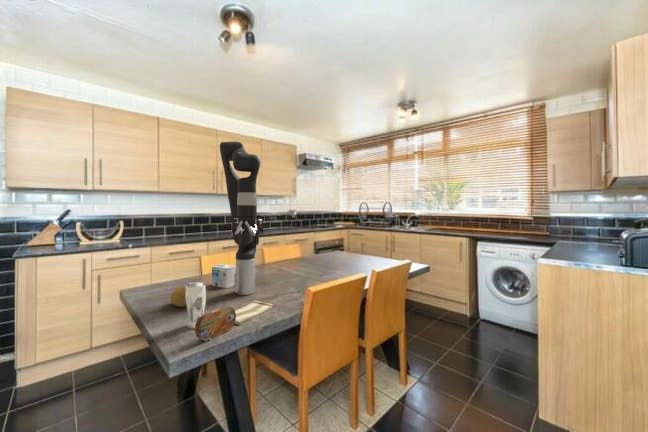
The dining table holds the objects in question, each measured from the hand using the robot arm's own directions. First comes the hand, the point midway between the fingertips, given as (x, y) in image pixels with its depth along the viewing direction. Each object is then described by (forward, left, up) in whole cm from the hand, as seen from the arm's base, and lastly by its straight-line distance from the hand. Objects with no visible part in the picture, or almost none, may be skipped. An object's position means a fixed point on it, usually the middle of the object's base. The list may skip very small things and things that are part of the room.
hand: (247, 244), depth 111 cm
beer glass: (-9, -17, -28) cm, 34 cm away
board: (0, 0, -28) cm, 28 cm away
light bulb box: (-38, +24, -28) cm, 53 cm away
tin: (+3, -19, -28) cm, 34 cm away
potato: (-31, -6, -28) cm, 42 cm away
